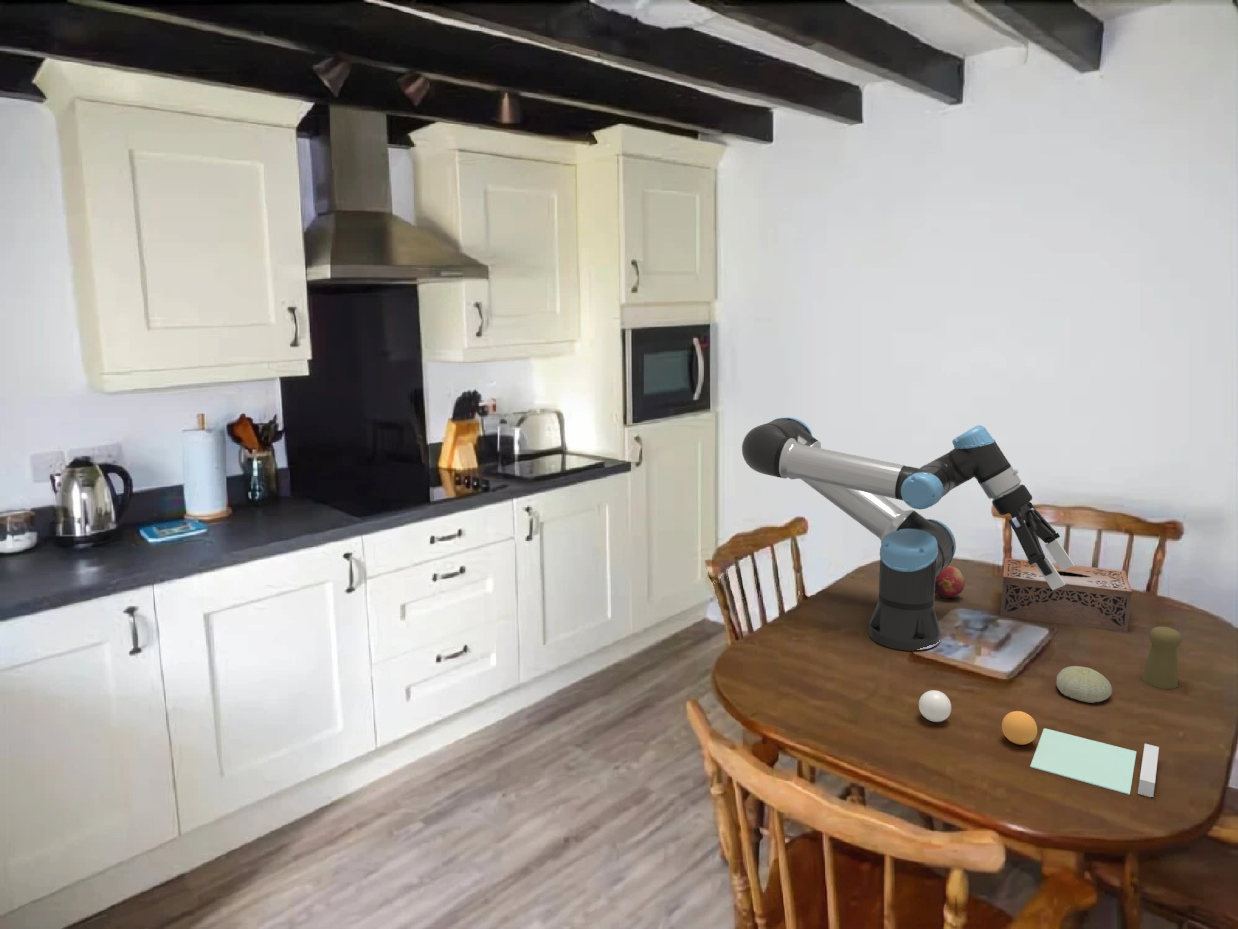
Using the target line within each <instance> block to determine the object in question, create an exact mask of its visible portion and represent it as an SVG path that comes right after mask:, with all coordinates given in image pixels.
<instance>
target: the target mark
mask: <svg viewBox="0 0 1238 929" xmlns="http://www.w3.org/2000/svg"><path fill="white" fill-rule="evenodd" d="M1136 757H1137V751H1136V750H1132V749H1127V748H1124V747H1119V746H1116V745H1113V744H1108V743H1105V742H1101V741H1098V740H1093V739H1089V738H1088V739H1087V738H1085V737H1081V736H1078V735H1074V734H1073V735H1072V734H1069V733H1065V732H1060V731H1057V730H1053V729H1049V728H1046V727H1045V728H1043V729H1042V733H1041V735H1040V738H1039V740H1038V744H1037V746H1036V749H1035V752H1034V755H1033V757H1032V760H1031V763H1030V765H1029V767H1030V768H1031V769H1034V770H1035V769H1036V770H1038V771H1039V770H1040V771H1041V772H1042V771H1043V772H1046V773H1050V774H1053V775H1057V776H1061V777H1064V778H1068V779H1071V780H1074V781H1078V782H1082V783H1086V784H1089V785H1093V786H1096V787H1099V788H1104V789H1107V790H1111V791H1115V792H1117V793H1118V792H1119V793H1122V794H1126V795H1129V796H1130V794H1131V791H1132V790H1131V789H1132V784H1133V776H1134V769H1135V764H1136Z"/></svg>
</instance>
